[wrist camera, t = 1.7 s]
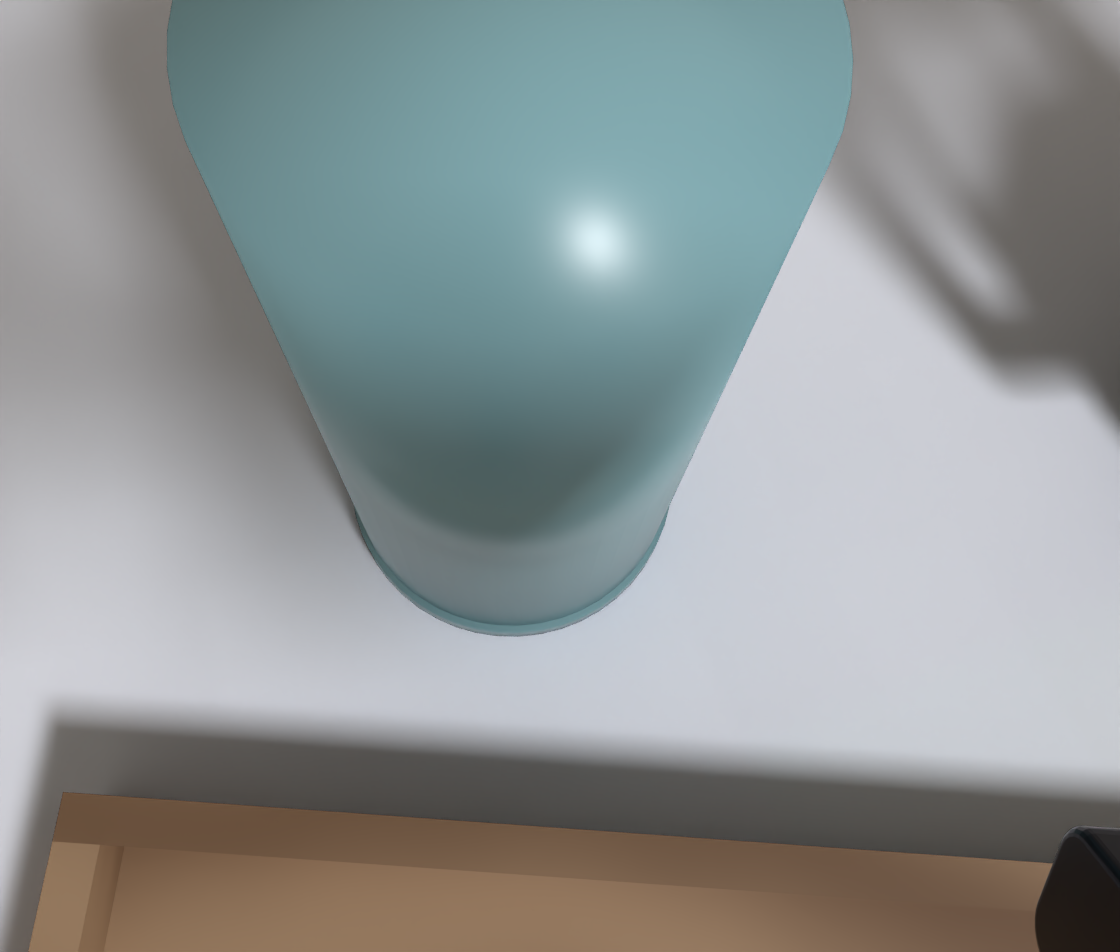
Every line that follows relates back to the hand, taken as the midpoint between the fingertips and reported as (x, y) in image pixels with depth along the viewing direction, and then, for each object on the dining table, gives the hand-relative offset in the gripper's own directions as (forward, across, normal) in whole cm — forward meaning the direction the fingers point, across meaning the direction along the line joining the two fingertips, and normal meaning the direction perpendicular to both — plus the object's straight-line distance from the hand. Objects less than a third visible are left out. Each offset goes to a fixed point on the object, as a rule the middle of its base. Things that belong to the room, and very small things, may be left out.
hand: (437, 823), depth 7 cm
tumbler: (+14, 0, +4) cm, 15 cm away
